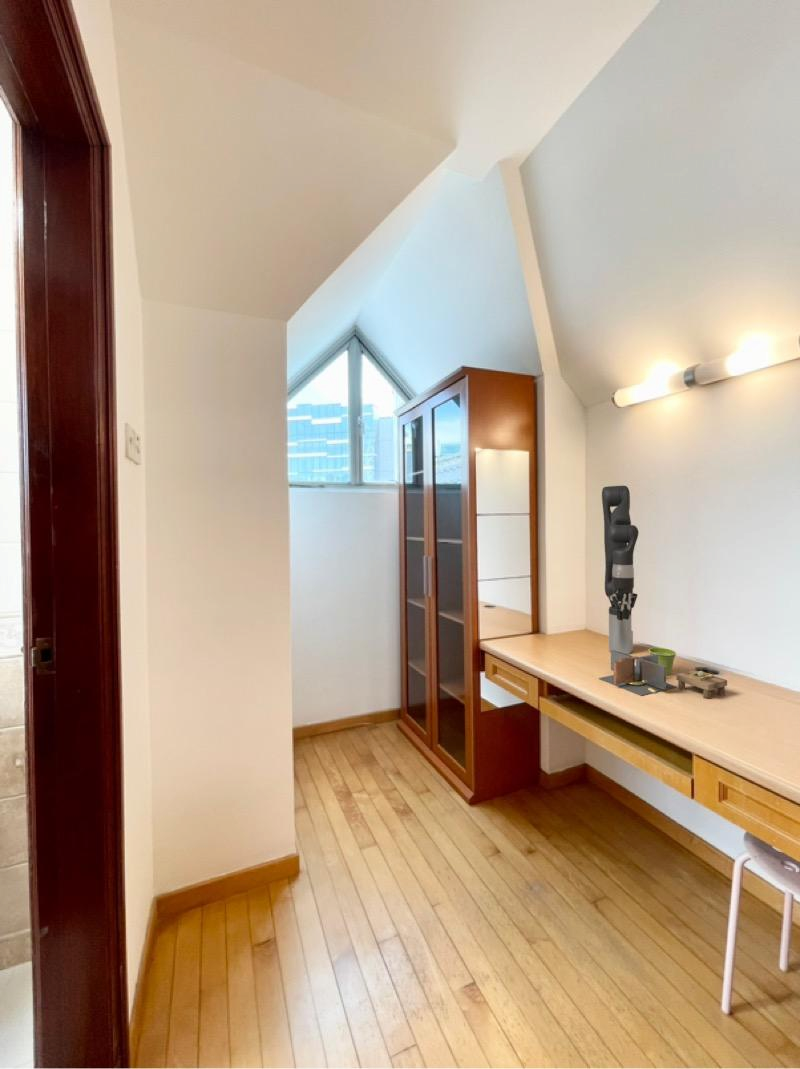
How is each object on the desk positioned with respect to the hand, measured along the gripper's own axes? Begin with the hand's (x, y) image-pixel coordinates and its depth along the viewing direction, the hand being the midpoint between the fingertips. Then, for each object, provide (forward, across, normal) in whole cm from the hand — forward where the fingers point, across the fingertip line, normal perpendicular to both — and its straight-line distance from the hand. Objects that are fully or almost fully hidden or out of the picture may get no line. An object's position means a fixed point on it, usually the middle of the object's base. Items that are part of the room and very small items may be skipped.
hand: (623, 619), depth 172 cm
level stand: (+21, -8, +25) cm, 34 cm away
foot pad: (+21, +5, +10) cm, 24 cm away
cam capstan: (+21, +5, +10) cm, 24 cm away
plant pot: (+21, -13, +7) cm, 26 cm away
